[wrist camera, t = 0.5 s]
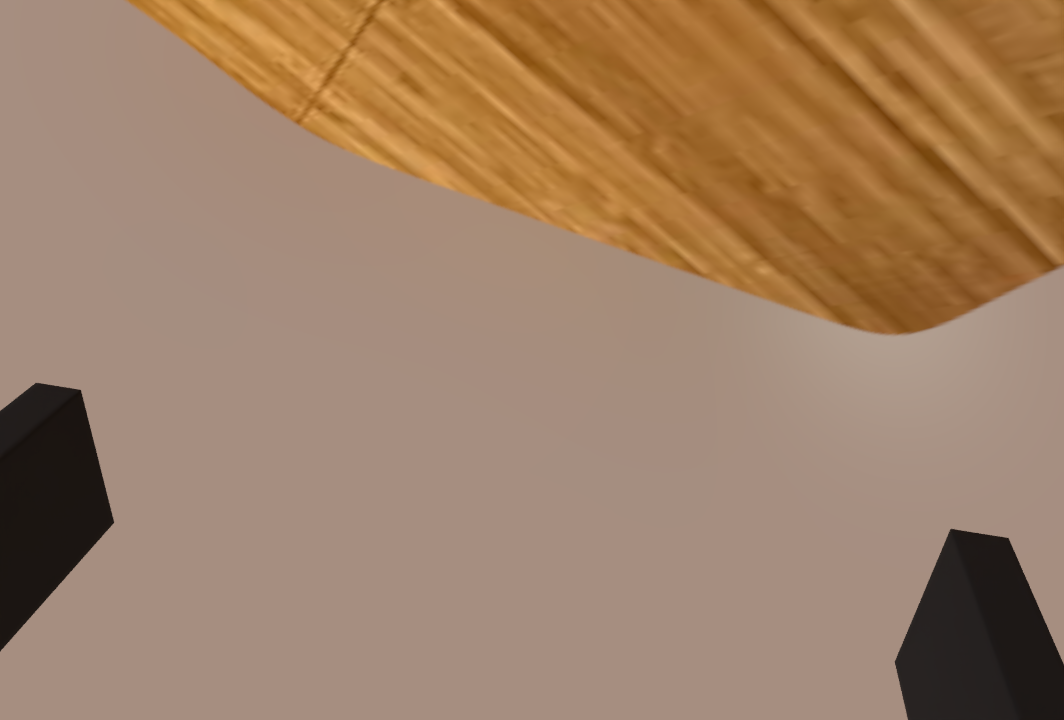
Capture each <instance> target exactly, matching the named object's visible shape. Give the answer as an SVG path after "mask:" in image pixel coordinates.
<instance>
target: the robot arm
mask: <svg viewBox="0 0 1064 720" xmlns="http://www.w3.org/2000/svg"><path fill="white" fill-rule="evenodd" d="M113 523H114V520H113V517H112V512H111V508H110V504H109V500H108V496H107V493H106V488H105V485H104V481H103V477H102V473H101V469H100V465H99V461H98V457H97V453H96V449H95V445H94V441H93V437H92V433H91V429H90V425H89V421H88V417H87V413H86V409H85V405H84V401H83V397H82V393H81V390H77V389H72V388H65V387H59V386H53V385H47V384H40V383H35V384H34V385H33V386H31V387H30V388H29V389H28V390H26V391H25V392H24V393H23V394H21V395H20V396H19V397H18V398H16V399H15V400H14V401H13V402H11V403H10V404H9V405H7V406H6V407H5V408H4V409H2V410H1V411H0V651H1V650H2V649H3V648H4V646H5V645H6V644H7V643H8V642H9V641H10V640H11V639H12V637H13V636H14V635H15V634H16V633H17V632H18V631H19V629H20V628H21V627H22V626H23V625H24V624H25V623H26V622H27V620H28V619H29V618H30V617H31V616H32V615H33V614H34V613H35V611H36V610H37V609H38V608H39V607H40V606H41V605H42V603H43V602H44V601H45V600H46V599H47V598H48V597H49V596H50V594H51V593H52V592H53V591H54V590H55V589H56V588H57V587H58V585H59V584H60V583H61V582H62V581H63V580H64V579H65V577H66V576H67V575H68V574H69V573H70V572H71V571H72V570H73V568H74V567H75V566H76V565H77V564H78V563H79V562H80V561H81V559H82V558H83V557H84V556H85V555H86V554H87V553H88V551H89V550H90V549H91V548H92V547H93V546H94V544H96V542H97V541H98V540H99V539H100V538H101V537H102V535H103V534H104V533H105V532H106V531H107V530H108V529H109V528H110V527H111V525H112V524H113ZM895 665H896V669H897V673H898V678H899V681H900V686H901V691H902V695H903V700H904V704H905V708H906V712H907V717H908V720H1064V664H1063V662H1062V659H1061V657H1060V655H1059V653H1058V650H1057V648H1056V646H1055V643H1054V642H1053V639H1052V637H1051V634H1050V632H1049V630H1048V627H1047V625H1046V623H1045V621H1044V619H1043V616H1042V614H1041V611H1040V610H1039V607H1038V605H1037V602H1036V600H1035V598H1034V596H1033V593H1032V591H1031V589H1030V586H1029V584H1028V582H1027V580H1026V577H1025V575H1024V573H1023V570H1022V568H1021V566H1020V563H1019V561H1018V559H1017V557H1016V554H1015V552H1014V550H1013V548H1012V545H1011V543H1010V541H1009V538H1004V537H998V536H992V535H985V534H979V533H972V532H967V531H961V530H954V529H951V530H950V532H949V534H948V537H947V539H946V541H945V544H944V546H943V548H942V551H941V553H940V556H939V558H938V560H937V563H936V565H935V568H934V570H933V572H932V575H931V577H930V580H929V582H928V584H927V587H926V589H925V591H924V594H923V596H922V598H921V601H920V603H919V606H918V608H917V610H916V613H915V615H914V618H913V620H912V622H911V625H910V627H909V629H908V632H907V634H906V637H905V639H904V641H903V644H902V646H901V648H900V651H899V653H898V656H897V658H896V660H895Z"/></svg>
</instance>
